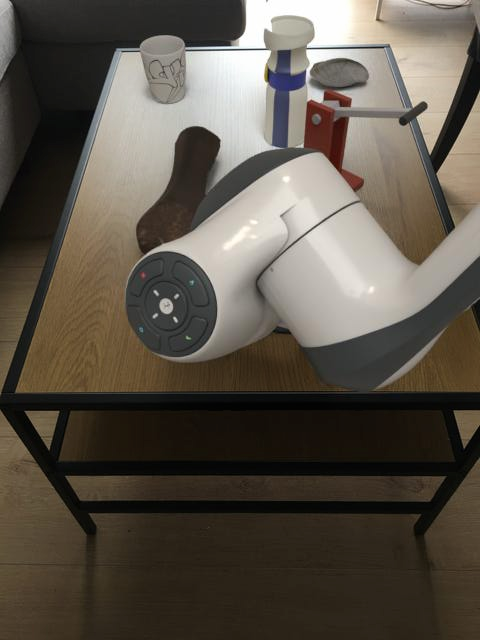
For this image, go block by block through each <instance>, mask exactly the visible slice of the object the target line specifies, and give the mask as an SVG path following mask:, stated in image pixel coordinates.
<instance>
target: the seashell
mask: <svg viewBox="0 0 480 640" xmlns="http://www.w3.org/2000/svg"><path fill="white" fill-rule="evenodd" d="M309 75H310V77H311V78H312V79H313V80H314V81H316V82H319V83H320V84H321V85H322V86H323V85H324V86H327V87H335V88H336V87H337V88H340V87H341V88H345V87H349V86H353V85H354V84H356V83H359V82H360V83H366V82H368V81H369V79H370V73H369V71H368V68H366V66H364V65H363V64H362V63H361V62H359V61H356V60H354V59H351V58H348V57H335V58H334V57H333V58H330V59H326V60H322V61H318V62H315V63H313V65H312V67H311V69H310V70H309Z"/></svg>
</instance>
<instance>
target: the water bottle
mask: <svg viewBox="0 0 480 640" xmlns="http://www.w3.org/2000/svg"><path fill="white" fill-rule="evenodd" d="M268 2H269V0H265V3H268ZM270 24H271V30H269V29H268V28H264V29H263V43H264V46H265V49H266V50H268V51H269V52H270V54H269V56H268V58H267V59H266V60H267V61H266V63H265V66H264V72H263V79H264V82H265V83H267V85H266V91H265V113H264V114H265V116H264V132H263V138H264V140H265V141H266V143H268V144H269V145H271V146H272V147H273V146H274V147H276V148H280V149H283V148H296V147H297V146H300V145H301V144H304V134H305V121H306V108H307V102H308V97H309V92H308V90H309V89H308V88H309V87H308V84H307V69H308V68H310V59H309V58H308V54H307V49H308V45H309V44H310V43H312V41H313V40H314V39H315V35H316V33H315V31H316V30H315V26H314V25H315V24H314V22H313V21H312V20H311V19H310V18H308V17H305V16H300V15H294V14H293V15H291V14H284V15H277V16H273V17H272V18H271V19H270Z"/></svg>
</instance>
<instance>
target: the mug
mask: <svg viewBox="0 0 480 640" xmlns="http://www.w3.org/2000/svg"><path fill="white" fill-rule="evenodd" d="M139 52H140V57H141V61H142V65H143V70H144V73H145V76H146V80H147V83H148V86H149V88H150V92H151V95H152V97H153V99H154V101H156V102H158V103H160V104H164V105H165V104H166V105H167V104H169V105H170V104H175V103H177V102H180V101H182V100H183V98H184V97H185V91H186V78H187V77H186V76H187V62H186V61H187V59H186V58H187V57H186V43H185V42H184V40H183V39H182V38H181V37H178V36H175V35H167V34H166V35H164V34H163V35H156V36H155V35H154V36H151V37H149V38H147V39H145V40H143V41H142V42H141V43H140V45H139Z"/></svg>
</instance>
